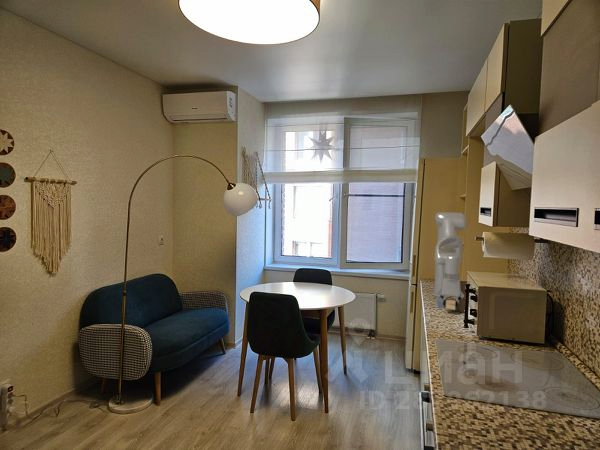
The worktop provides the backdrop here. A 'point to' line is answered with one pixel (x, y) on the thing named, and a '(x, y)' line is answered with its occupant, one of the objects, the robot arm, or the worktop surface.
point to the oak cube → (450, 303)
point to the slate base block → (440, 305)
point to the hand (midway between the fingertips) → (450, 306)
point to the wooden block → (462, 300)
